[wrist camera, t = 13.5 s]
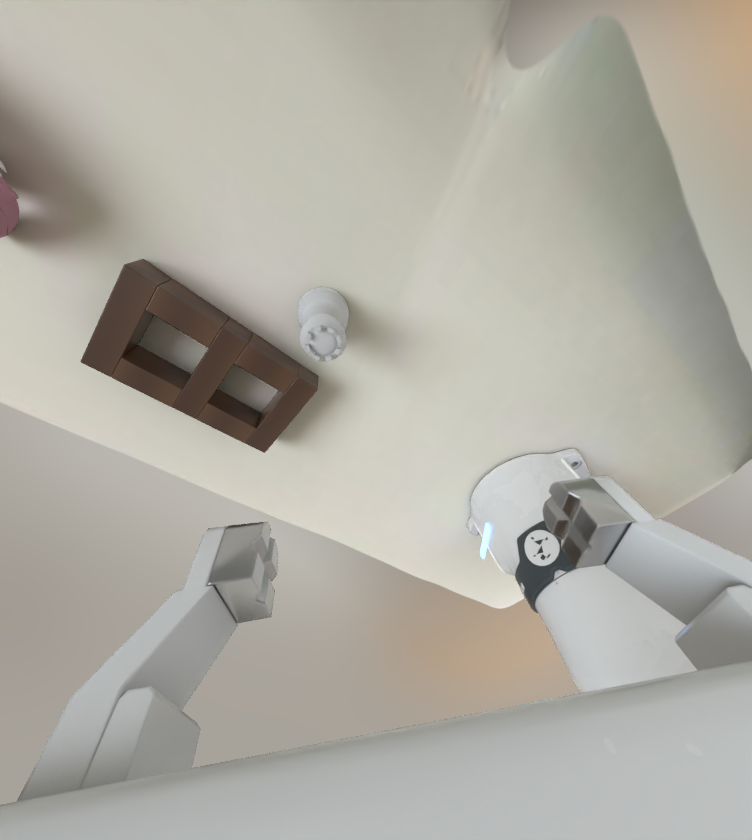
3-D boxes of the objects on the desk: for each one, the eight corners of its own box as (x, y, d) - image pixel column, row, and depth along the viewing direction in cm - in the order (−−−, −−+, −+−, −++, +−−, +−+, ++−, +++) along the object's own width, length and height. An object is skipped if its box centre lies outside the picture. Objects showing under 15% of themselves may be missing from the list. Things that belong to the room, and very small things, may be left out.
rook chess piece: (328, 346, 30) (329, 385, 23) (287, 315, 28) (276, 349, 21) (359, 309, 29) (369, 340, 22) (318, 273, 26) (316, 296, 20)
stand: (318, 376, 32) (318, 389, 29) (268, 436, 35) (264, 453, 32) (142, 258, 24) (123, 264, 22) (100, 349, 27) (79, 362, 25)
